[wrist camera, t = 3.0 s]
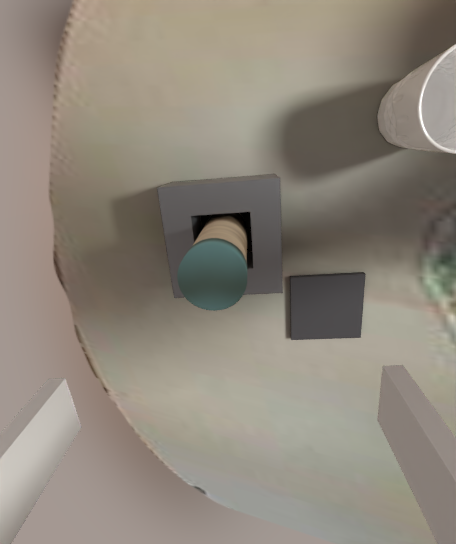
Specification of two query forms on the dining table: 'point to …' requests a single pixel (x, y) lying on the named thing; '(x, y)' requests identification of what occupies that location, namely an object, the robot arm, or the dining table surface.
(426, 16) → the dining table surface
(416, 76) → the white cup
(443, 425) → the robot arm
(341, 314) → the mat
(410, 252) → the dining table surface
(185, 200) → the socket
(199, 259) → the plug
